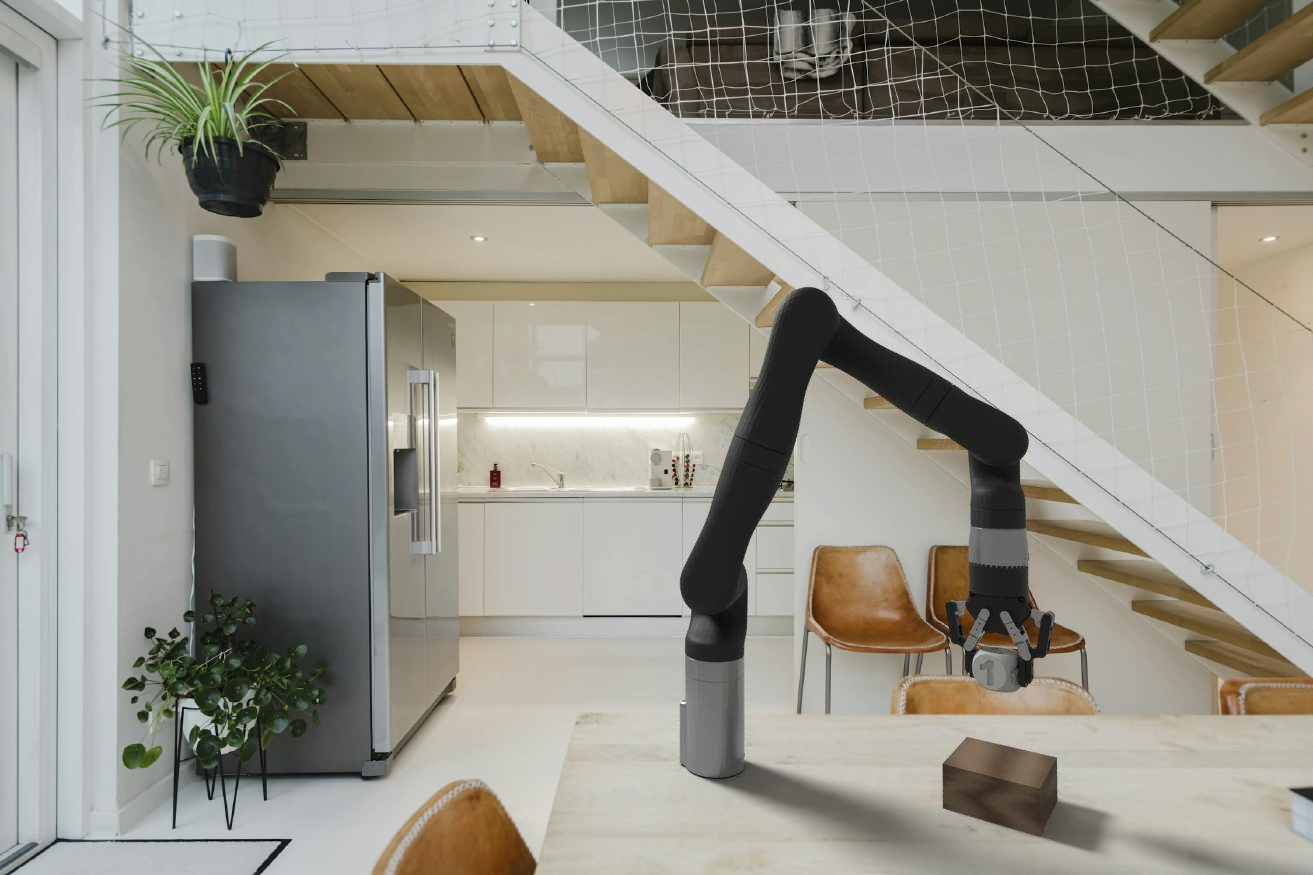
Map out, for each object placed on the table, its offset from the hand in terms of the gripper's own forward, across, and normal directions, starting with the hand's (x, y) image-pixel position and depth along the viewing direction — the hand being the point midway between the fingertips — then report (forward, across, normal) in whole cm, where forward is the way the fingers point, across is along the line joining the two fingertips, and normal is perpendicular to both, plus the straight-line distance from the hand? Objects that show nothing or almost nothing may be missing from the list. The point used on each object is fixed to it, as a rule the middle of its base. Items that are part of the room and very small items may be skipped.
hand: (998, 680), depth 101 cm
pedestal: (+17, 0, 0) cm, 17 cm away
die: (+1, 0, 0) cm, 1 cm away
